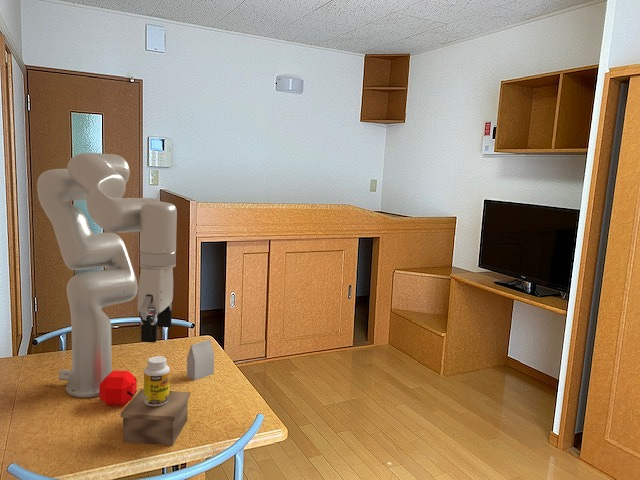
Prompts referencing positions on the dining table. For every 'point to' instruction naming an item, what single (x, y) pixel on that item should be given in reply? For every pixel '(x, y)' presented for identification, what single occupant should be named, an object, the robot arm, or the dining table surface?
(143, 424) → the walnut box
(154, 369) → the supplement bottle
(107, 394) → the ball
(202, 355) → the white carton
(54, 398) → the dining table surface
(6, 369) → the dining table surface
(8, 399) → the dining table surface
